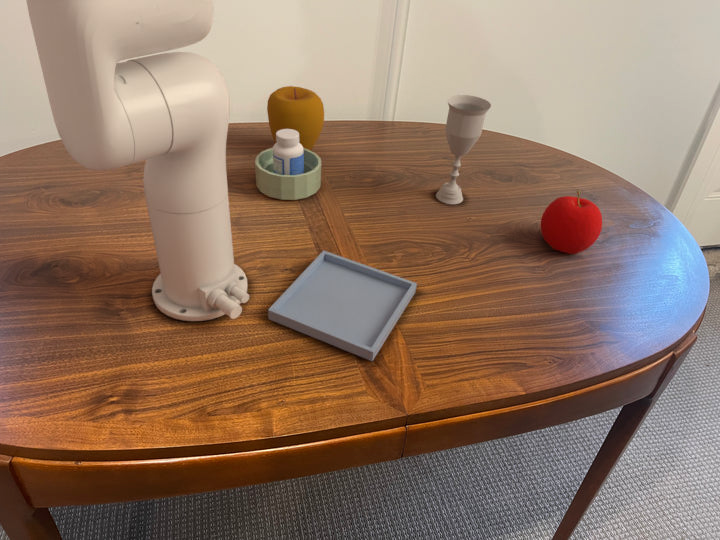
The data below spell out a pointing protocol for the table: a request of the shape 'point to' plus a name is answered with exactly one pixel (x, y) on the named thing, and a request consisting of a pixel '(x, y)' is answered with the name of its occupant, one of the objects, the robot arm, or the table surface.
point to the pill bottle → (288, 153)
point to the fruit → (571, 224)
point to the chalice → (461, 137)
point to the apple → (296, 113)
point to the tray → (344, 304)
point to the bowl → (288, 177)
